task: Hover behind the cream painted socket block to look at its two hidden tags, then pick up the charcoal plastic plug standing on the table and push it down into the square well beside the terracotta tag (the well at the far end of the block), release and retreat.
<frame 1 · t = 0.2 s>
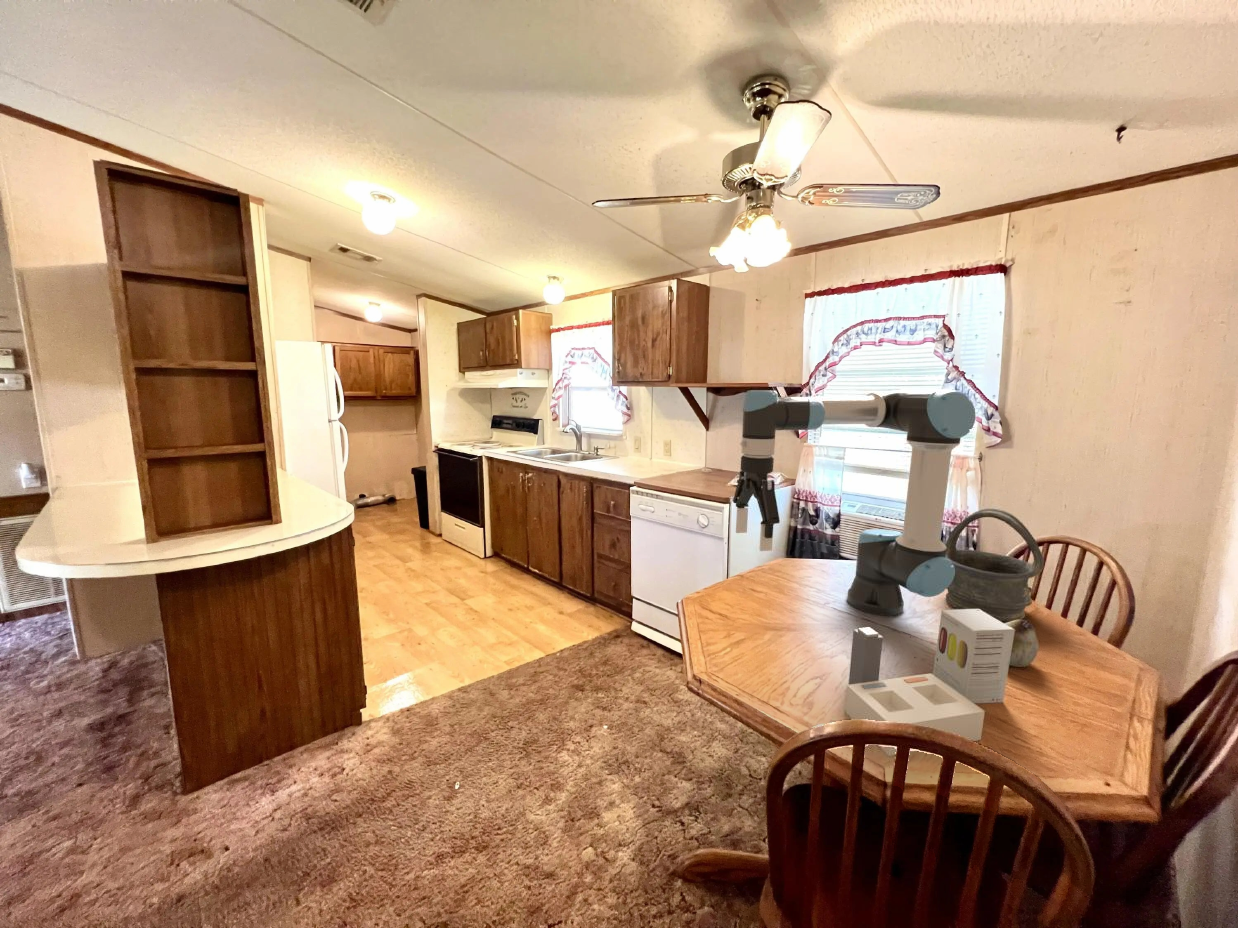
hand: (752, 540, 117), 28 cm above the table, fingers open, 13 cm apart
fruit: (1008, 662, 115), on the table
plug: (862, 688, 105), on the table
clay pot: (982, 607, 144), on the table
socket block: (909, 725, 93), on the table
supplement box: (966, 690, 105), on the table
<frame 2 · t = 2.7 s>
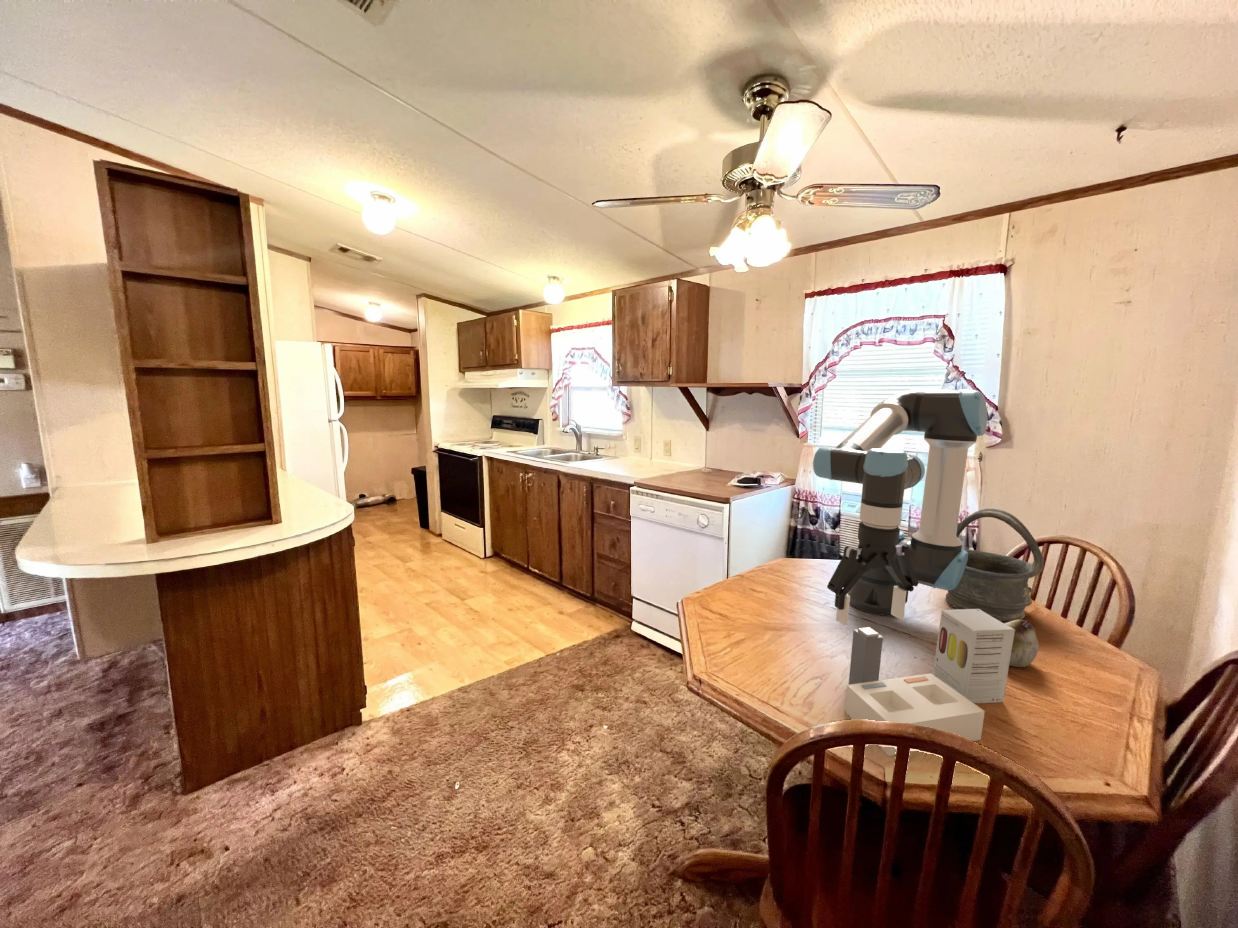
hand: (869, 619, 102), 16 cm above the table, fingers open, 13 cm apart
nothing on the table moved.
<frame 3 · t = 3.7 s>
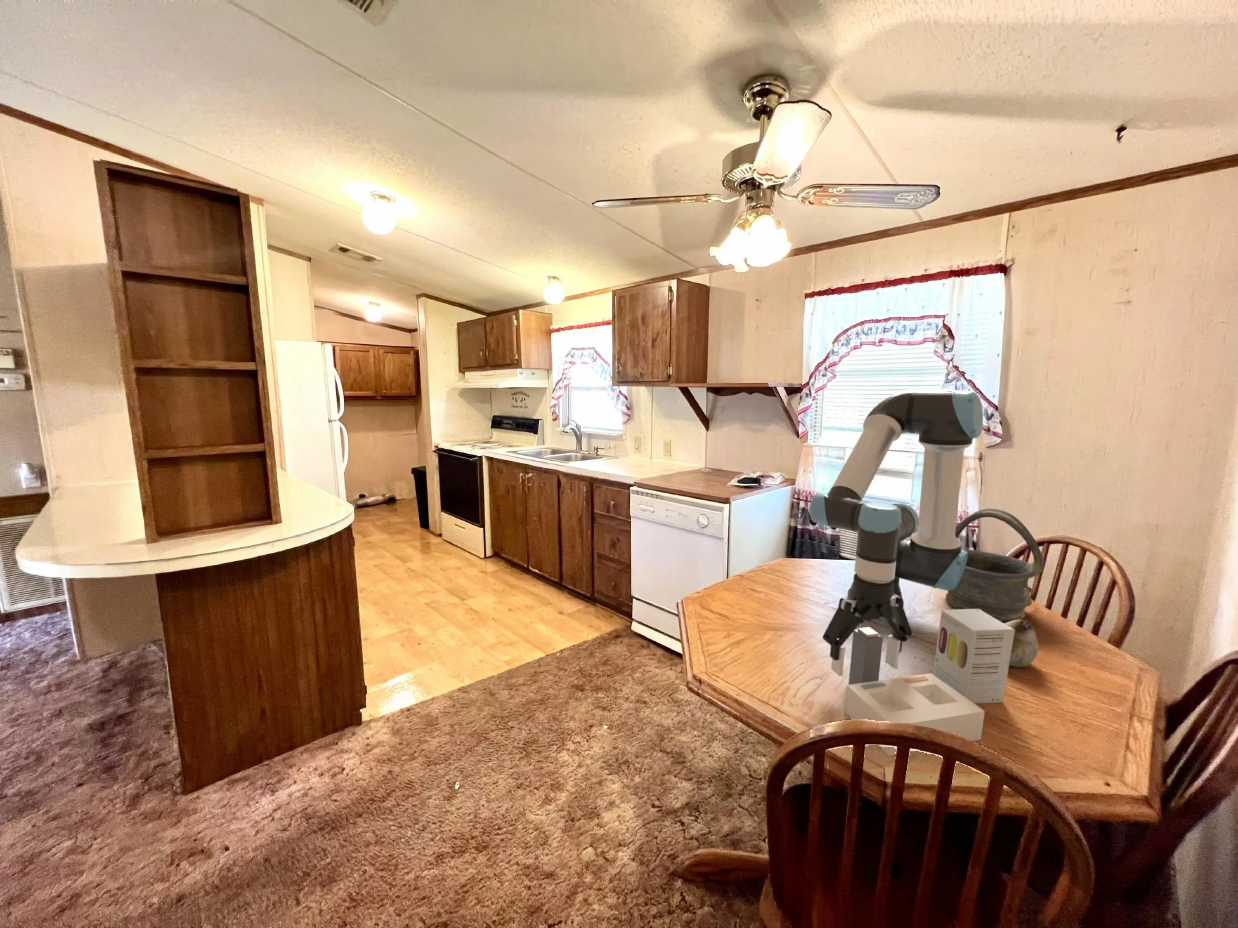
hand: (864, 668, 104), 5 cm above the table, fingers open, 13 cm apart
nothing on the table moved.
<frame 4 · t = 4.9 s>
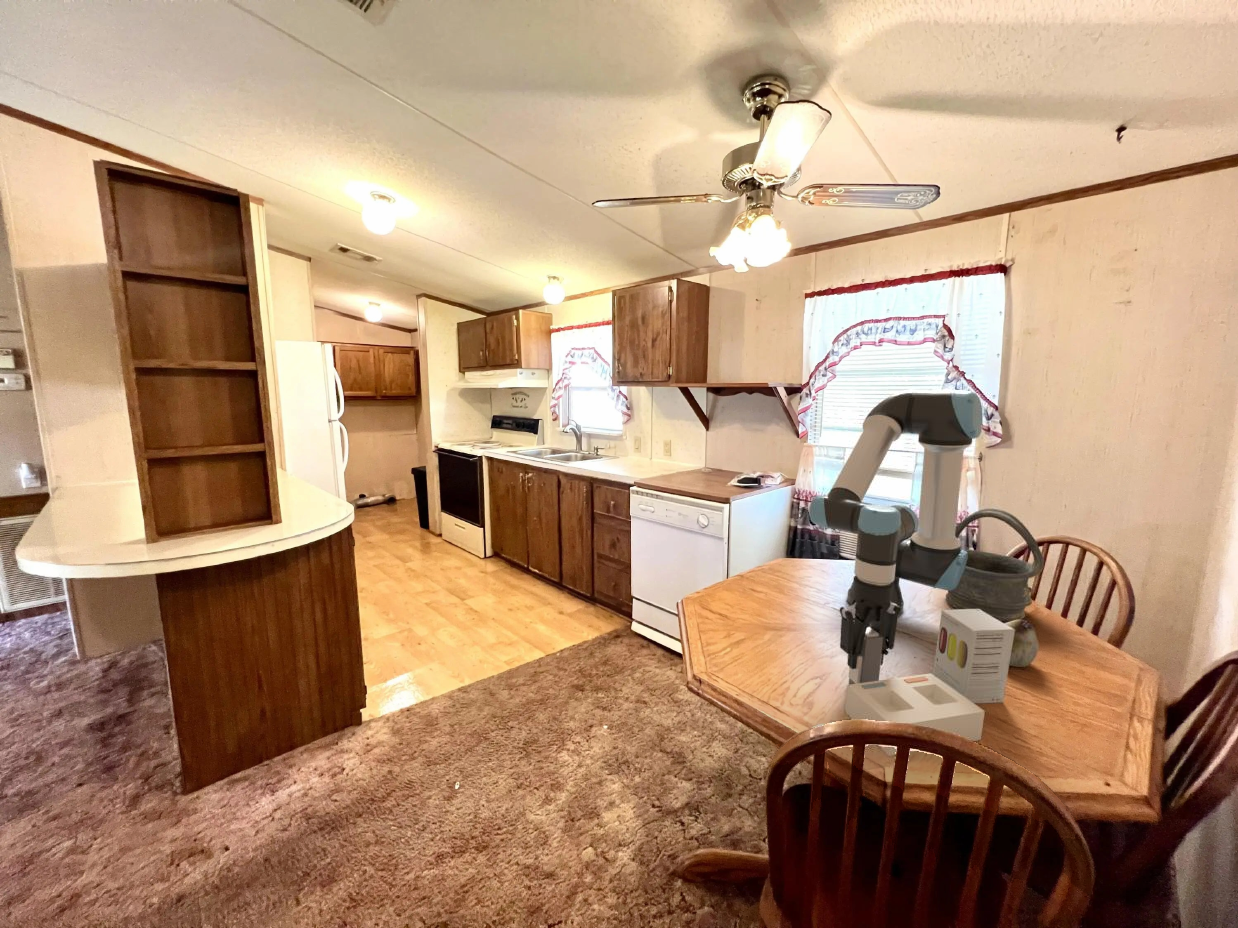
hand: (863, 679, 104), 2 cm above the table, fingers closed on plug, 4 cm apart
plug: (862, 688, 105), on the table, touching gripper
everything else where it was.
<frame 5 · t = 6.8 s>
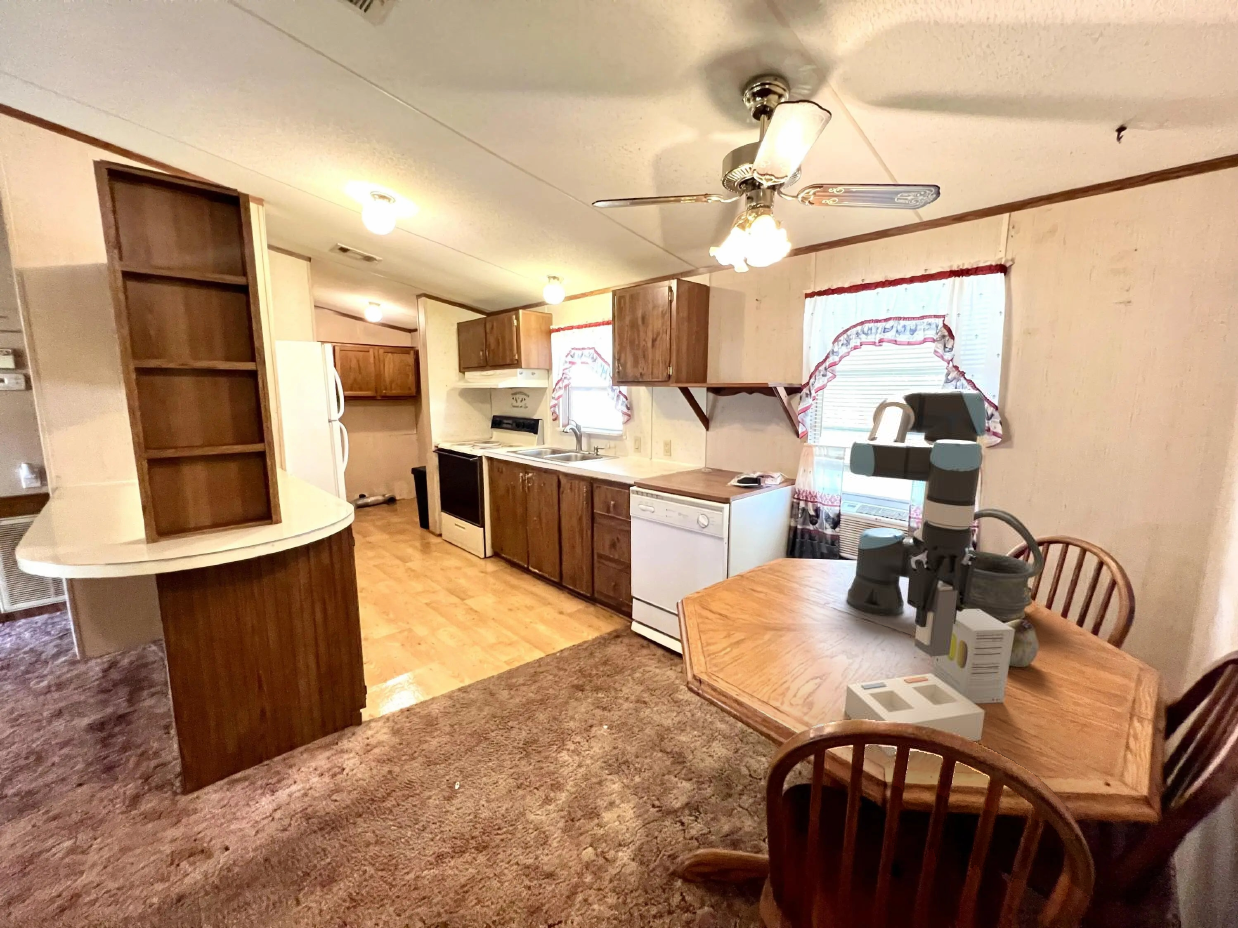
hand: (933, 639, 92), 17 cm above the table, fingers closed on plug, 4 cm apart
plug: (931, 650, 93), point 15 cm above the table, touching gripper
everything else where it was.
when the fingers open (7 cm above the table, at t = 8.7 s): plug drops 2 cm, resting on socket block.
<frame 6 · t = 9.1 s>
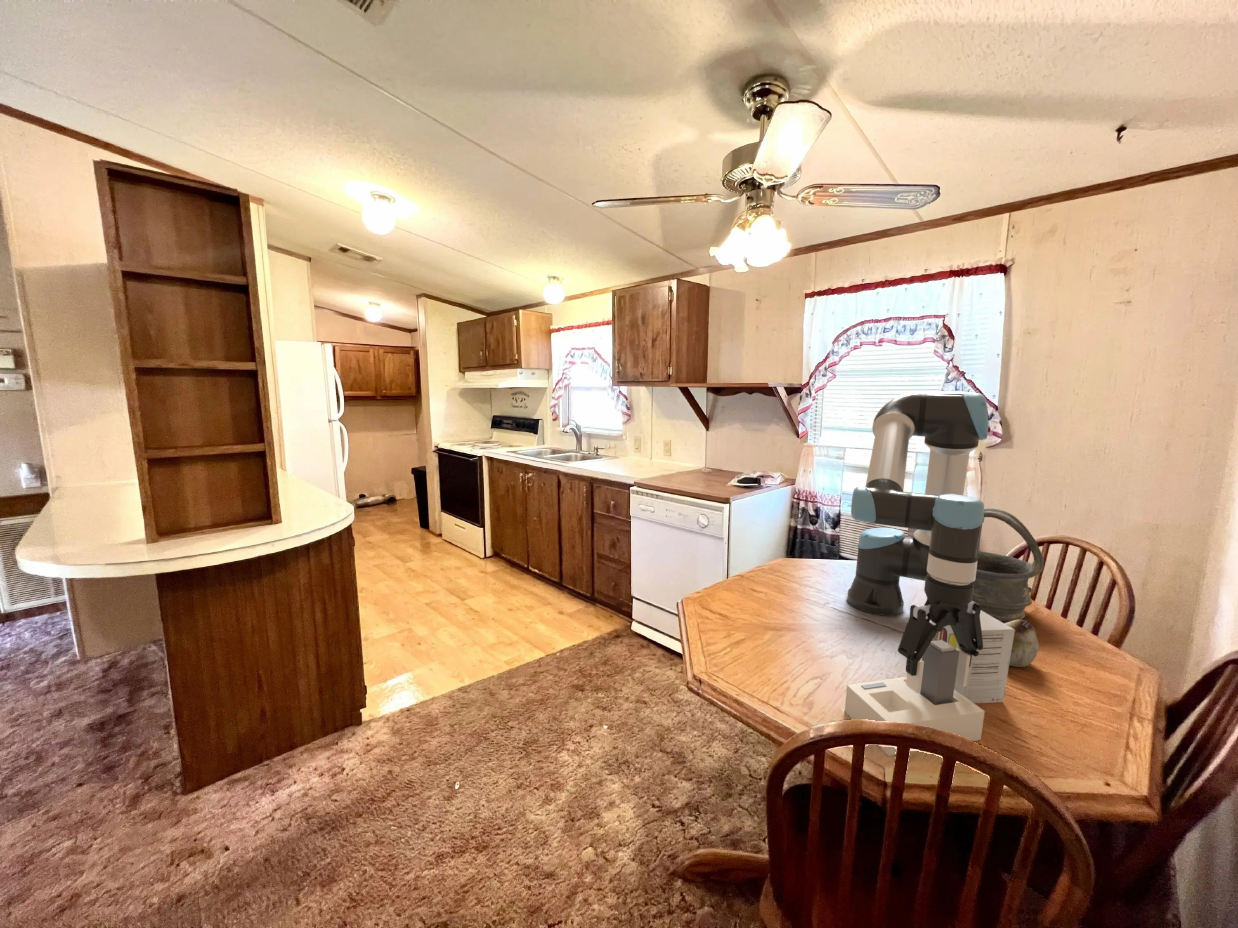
hand: (936, 685, 93), 8 cm above the table, fingers open, 10 cm apart
plug: (933, 707, 94), point 3 cm above the table, touching socket block
everything else where it was.
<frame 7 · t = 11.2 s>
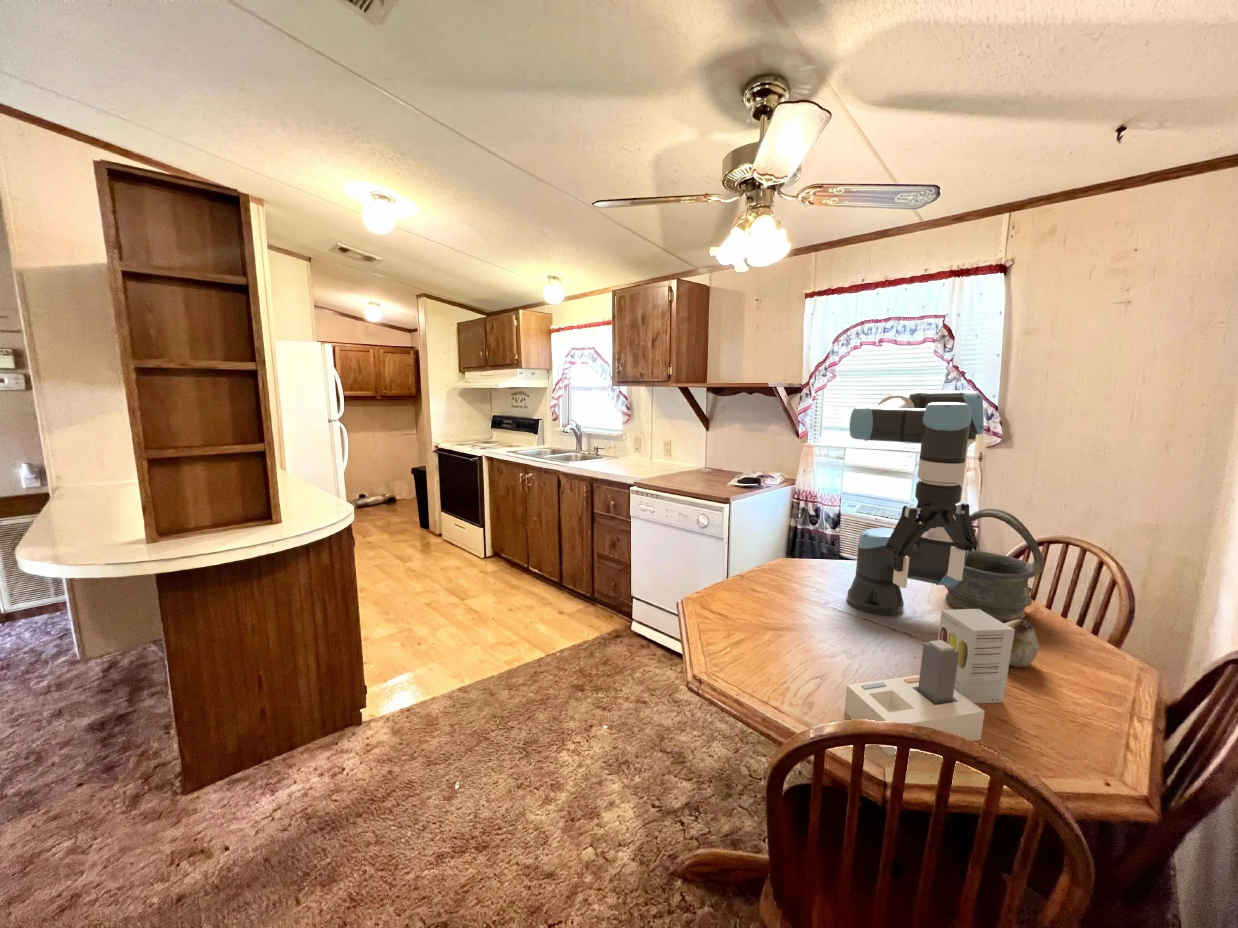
hand: (927, 581, 98), 26 cm above the table, fingers open, 13 cm apart
nothing on the table moved.
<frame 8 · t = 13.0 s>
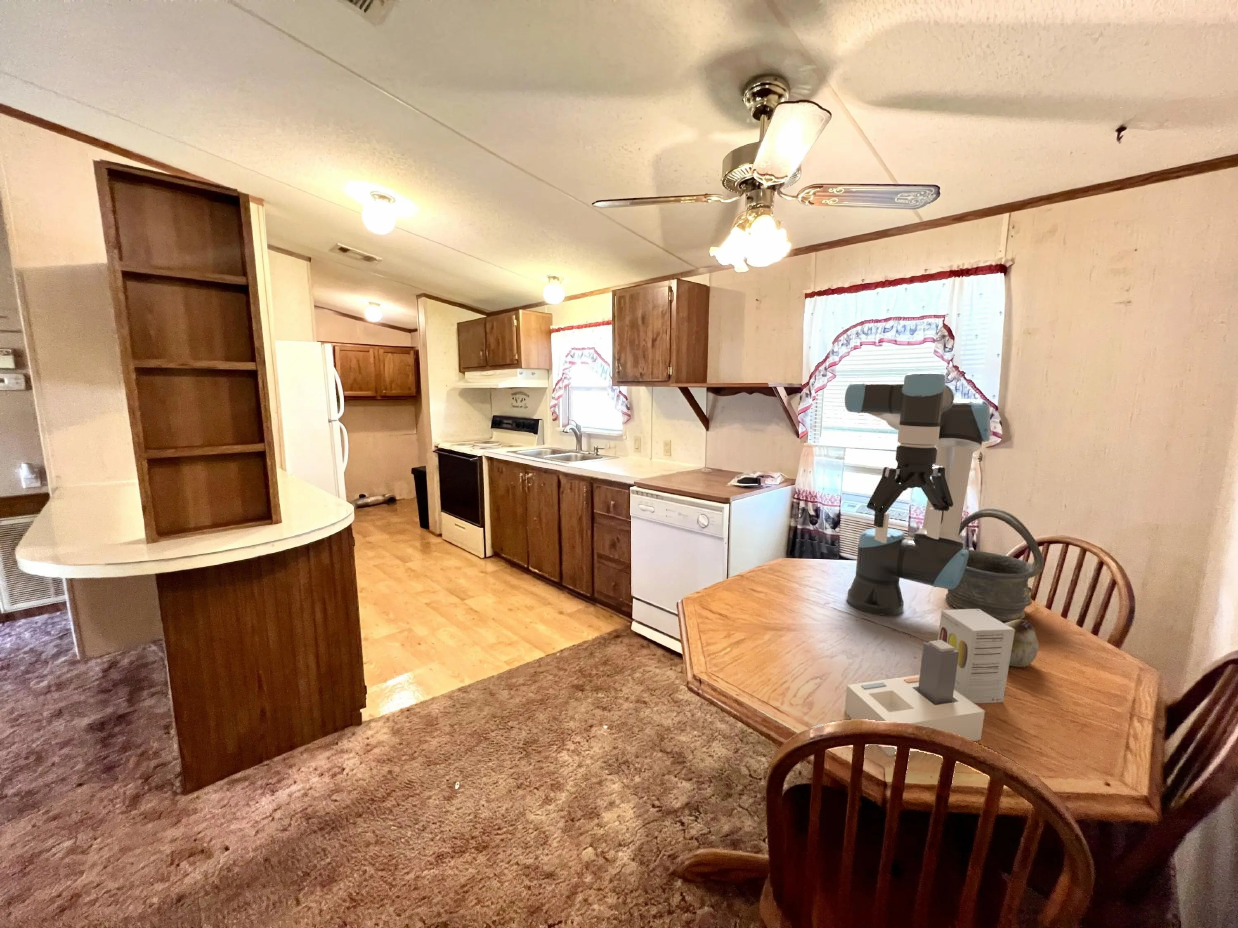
hand: (906, 539, 107), 32 cm above the table, fingers open, 13 cm apart
nothing on the table moved.
at the end: plug 0.1 cm from the target spot on the socket block, point 3.0 cm above the socket block's base; plug tilted 0°; the gripper is holding nothing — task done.
